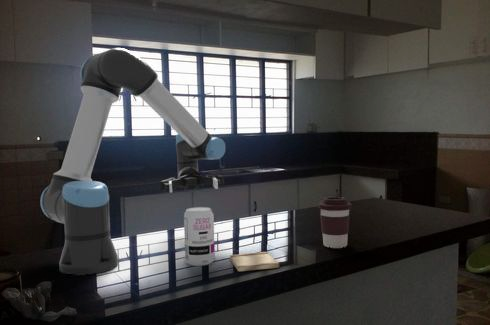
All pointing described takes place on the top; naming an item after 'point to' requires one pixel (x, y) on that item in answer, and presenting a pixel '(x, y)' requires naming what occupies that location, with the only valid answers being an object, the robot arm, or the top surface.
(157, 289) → the top surface
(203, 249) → the supplement can
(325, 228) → the coffee cup
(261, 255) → the trivet
